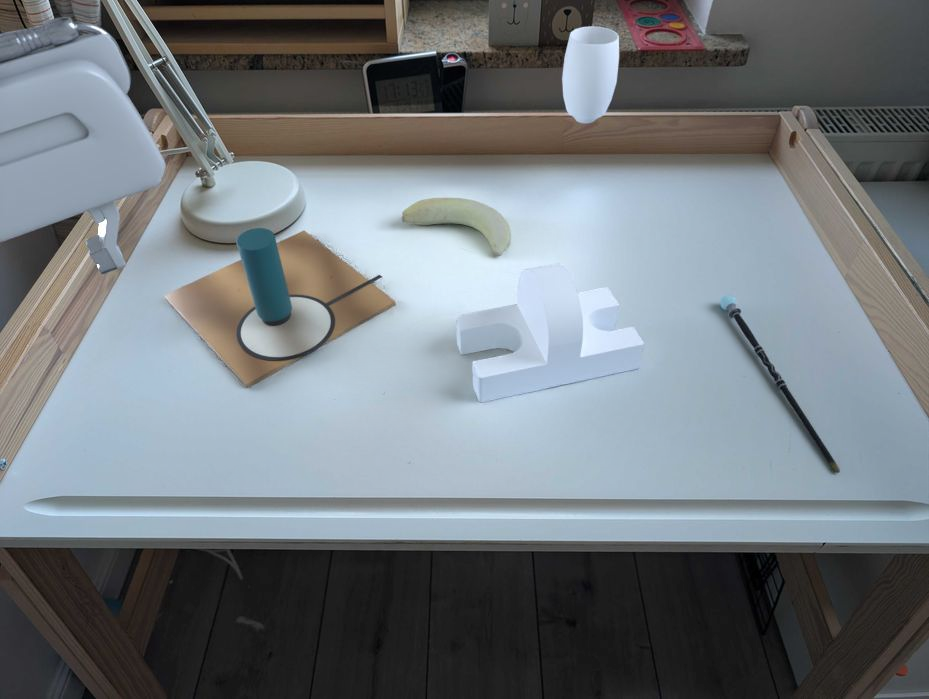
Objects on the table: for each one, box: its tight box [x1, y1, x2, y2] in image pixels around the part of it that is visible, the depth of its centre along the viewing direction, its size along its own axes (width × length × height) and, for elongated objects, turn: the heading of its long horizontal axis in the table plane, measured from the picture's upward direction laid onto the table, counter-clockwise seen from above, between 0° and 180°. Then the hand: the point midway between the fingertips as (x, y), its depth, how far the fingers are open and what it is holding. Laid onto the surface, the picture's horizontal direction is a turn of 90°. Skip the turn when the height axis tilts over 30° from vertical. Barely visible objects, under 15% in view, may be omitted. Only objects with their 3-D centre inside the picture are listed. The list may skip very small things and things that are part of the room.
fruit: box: [401, 197, 512, 257], centre depth 95 cm, size 7×15×3 cm, turn 61°
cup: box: [561, 25, 620, 124], centre depth 98 cm, size 7×7×21 cm
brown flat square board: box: [163, 230, 396, 389], centre depth 86 cm, size 22×21×1 cm
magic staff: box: [719, 294, 841, 473], centre depth 76 cm, size 2×25×2 cm
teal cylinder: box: [235, 227, 292, 326], centre depth 80 cm, size 4×4×11 cm
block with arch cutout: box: [455, 263, 645, 403], centre depth 75 cm, size 18×10×11 cm, turn 105°
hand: (33, 296), depth 43 cm, fingers open, 8 cm apart
